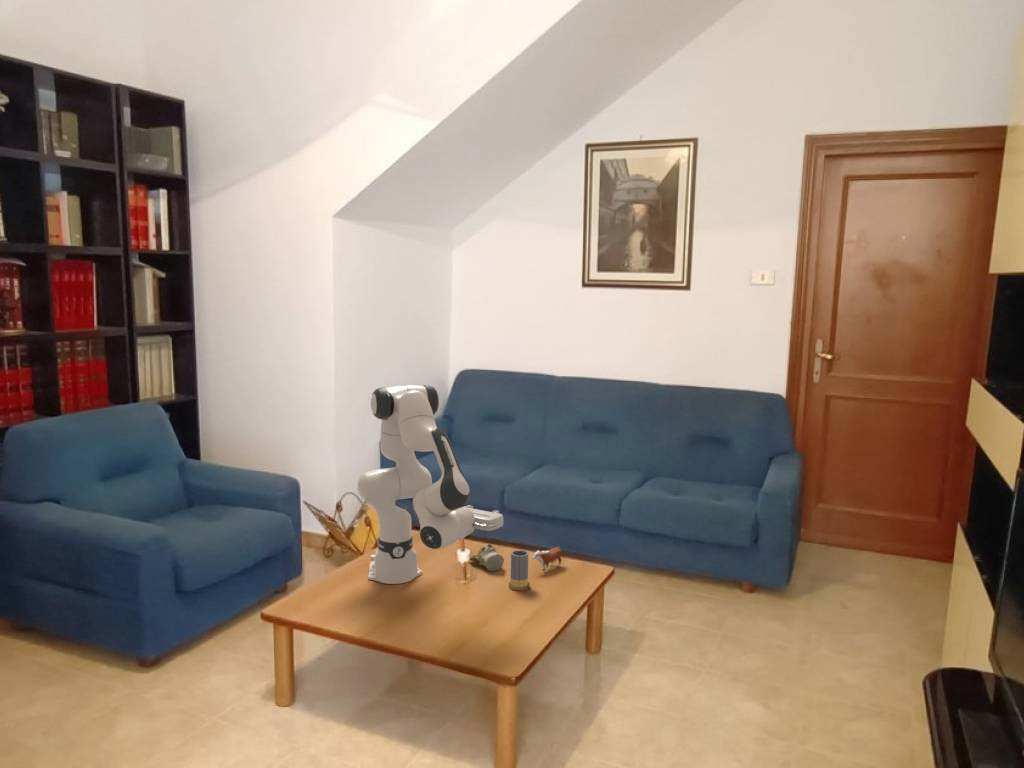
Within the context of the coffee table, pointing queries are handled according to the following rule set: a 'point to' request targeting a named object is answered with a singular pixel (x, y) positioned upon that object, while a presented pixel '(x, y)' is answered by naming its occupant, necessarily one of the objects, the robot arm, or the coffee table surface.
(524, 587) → the pin stand
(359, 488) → the robot arm
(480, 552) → the ceramic sculpture
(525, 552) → the sleeve
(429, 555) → the coffee table surface
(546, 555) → the bull figurine
